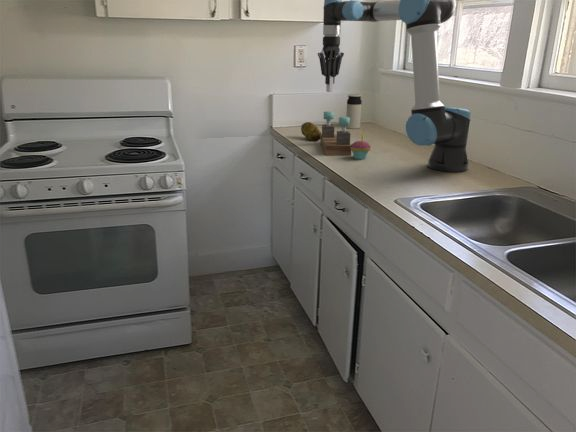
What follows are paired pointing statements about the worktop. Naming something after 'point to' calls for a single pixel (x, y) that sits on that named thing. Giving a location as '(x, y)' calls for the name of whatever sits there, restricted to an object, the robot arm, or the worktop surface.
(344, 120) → the knob near
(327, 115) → the knob far
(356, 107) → the travel mug
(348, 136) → the mount
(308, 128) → the potato
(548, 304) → the worktop surface
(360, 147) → the cupcake
